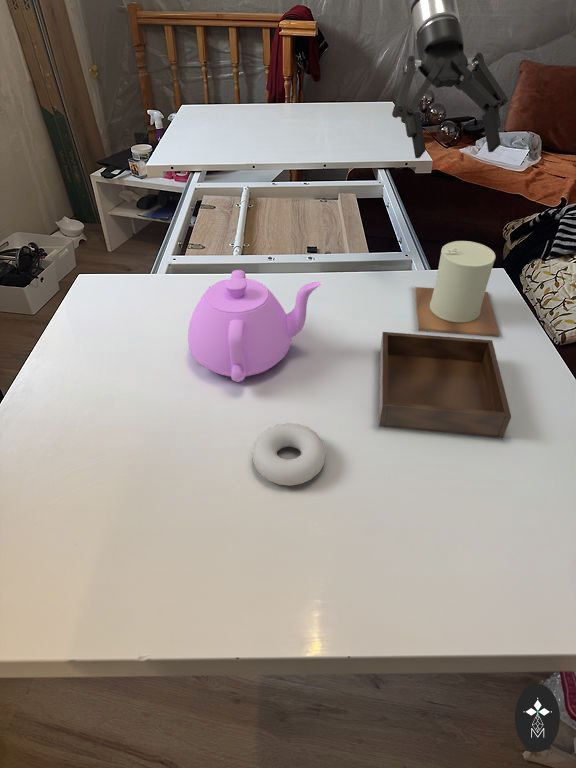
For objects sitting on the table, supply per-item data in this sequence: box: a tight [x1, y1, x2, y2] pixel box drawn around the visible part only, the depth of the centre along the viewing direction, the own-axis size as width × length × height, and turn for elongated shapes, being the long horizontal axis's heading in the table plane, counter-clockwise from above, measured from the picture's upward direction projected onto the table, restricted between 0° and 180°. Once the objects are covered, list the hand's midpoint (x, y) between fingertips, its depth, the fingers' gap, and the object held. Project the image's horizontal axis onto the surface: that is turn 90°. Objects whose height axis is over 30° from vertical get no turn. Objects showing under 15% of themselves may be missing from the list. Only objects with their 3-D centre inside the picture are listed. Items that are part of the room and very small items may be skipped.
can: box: [430, 240, 497, 323], centre depth 96 cm, size 9×9×12 cm
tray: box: [378, 331, 512, 439], centre depth 82 cm, size 18×18×4 cm
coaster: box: [414, 286, 500, 338], centre depth 100 cm, size 14×14×1 cm
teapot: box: [187, 269, 322, 383], centre depth 86 cm, size 22×22×14 cm
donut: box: [251, 422, 327, 486], centre depth 72 cm, size 10×3×10 cm
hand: (458, 151), depth 91 cm, fingers open, 13 cm apart
